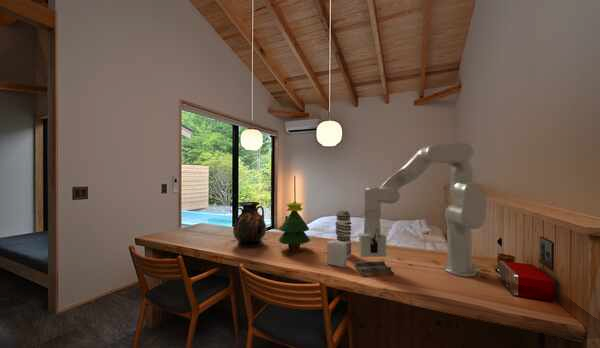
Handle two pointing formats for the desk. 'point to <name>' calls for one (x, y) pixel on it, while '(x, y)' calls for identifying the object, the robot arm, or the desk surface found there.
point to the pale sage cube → (366, 246)
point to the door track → (373, 269)
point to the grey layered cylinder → (344, 229)
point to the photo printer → (336, 253)
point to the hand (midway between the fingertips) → (372, 251)
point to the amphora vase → (249, 225)
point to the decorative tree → (294, 228)
